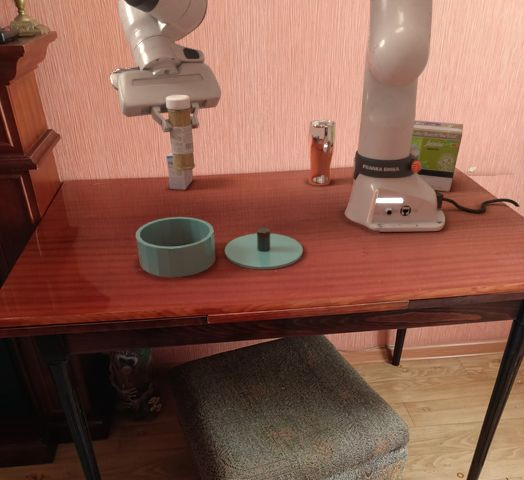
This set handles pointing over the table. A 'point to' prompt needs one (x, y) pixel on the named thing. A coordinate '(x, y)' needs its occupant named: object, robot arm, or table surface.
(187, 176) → the medicine box
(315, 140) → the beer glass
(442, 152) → the tea box
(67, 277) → the table surface
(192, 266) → the pan
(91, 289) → the table surface
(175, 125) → the sprinkles bottle
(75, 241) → the table surface
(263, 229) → the pan lid
